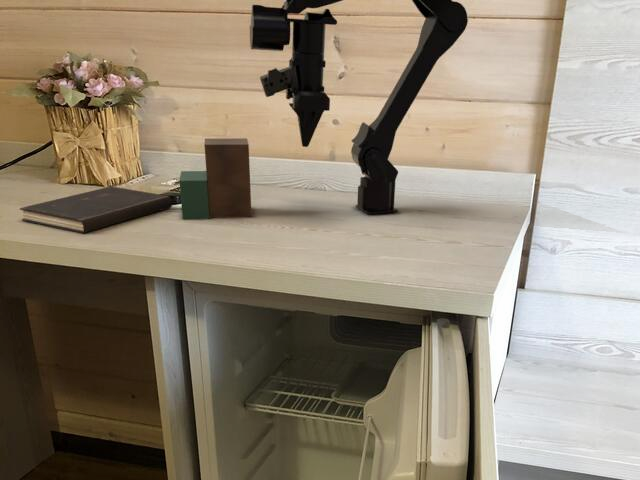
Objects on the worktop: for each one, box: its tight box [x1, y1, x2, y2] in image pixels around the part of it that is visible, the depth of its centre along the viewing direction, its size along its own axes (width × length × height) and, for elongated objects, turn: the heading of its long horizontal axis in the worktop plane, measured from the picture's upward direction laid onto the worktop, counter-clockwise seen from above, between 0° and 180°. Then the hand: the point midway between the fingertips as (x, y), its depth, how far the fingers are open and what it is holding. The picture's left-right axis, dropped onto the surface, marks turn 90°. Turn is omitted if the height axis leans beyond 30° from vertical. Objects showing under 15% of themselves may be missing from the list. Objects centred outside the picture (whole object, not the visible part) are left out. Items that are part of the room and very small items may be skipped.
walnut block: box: [204, 137, 253, 218], centre depth 140 cm, size 8×7×13 cm
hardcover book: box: [19, 185, 173, 234], centre depth 140 cm, size 16×23×2 cm
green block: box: [178, 170, 211, 220], centre depth 141 cm, size 5×9×7 cm, turn 8°
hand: (305, 146), depth 139 cm, fingers closed
